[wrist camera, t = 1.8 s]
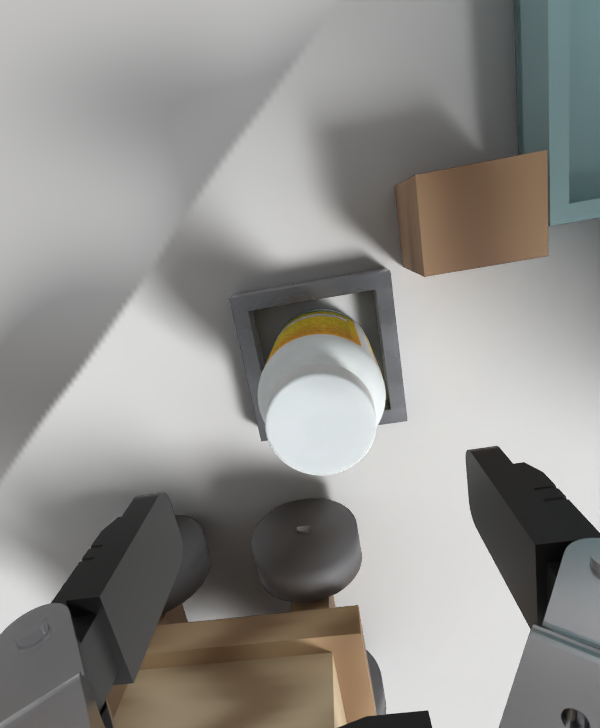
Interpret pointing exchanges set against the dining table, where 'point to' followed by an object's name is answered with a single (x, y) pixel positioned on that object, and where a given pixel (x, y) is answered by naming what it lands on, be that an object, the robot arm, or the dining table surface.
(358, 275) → the square frame
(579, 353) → the dining table surface
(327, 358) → the supplement bottle
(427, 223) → the block
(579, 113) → the tray
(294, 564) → the trolley
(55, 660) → the robot arm
